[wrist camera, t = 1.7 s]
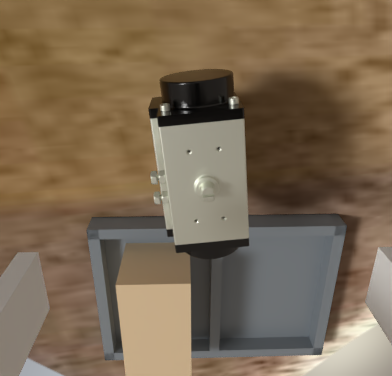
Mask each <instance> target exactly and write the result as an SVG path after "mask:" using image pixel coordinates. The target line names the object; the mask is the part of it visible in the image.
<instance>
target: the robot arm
mask: <svg viewBox="0 0 392 376" xmlns="http://www.w3.org/2000/svg"><path fill="white" fill-rule="evenodd" d="M365 303H366V305H367V306H368V308H369V309H370V311H371V312H372V314H373V316H374V317H375V319H376V320H377V322H378V324H379V325H380V327H381V328H382V330H383V332H384V333H385V335H386V336H387V338H388V340H389V341H390V343H391V344H392V247H378V251H377V256H376V260H375V264H374V268H373V272H372V276H371V280H370V285H369V289H368V293H367V297H366V301H365ZM49 309H50V307H49V302H48V297H47V293H46V288H45V283H44V278H43V273H42V269H41V264H40V259H39V254H38V252H21V253H17V254H16V256H15V257H14V259H13V260H12V261H11V263H10V264H9V266H8V267H7V269H6V270H5V271H4V273H3V274H2V276H1V277H0V376H19V374H20V372H21V370H22V368H23V366H24V363H25V361H26V359H27V357H28V355H29V353H30V350H31V348H32V346H33V344H34V342H35V339H36V337H37V335H38V333H39V331H40V329H41V326H42V324H43V322H44V320H45V318H46V316H47V313H48V311H49Z"/></svg>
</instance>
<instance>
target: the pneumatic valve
mask: <svg viewBox="0 0 392 376" xmlns="http://www.w3.org/2000/svg"><path fill="white" fill-rule="evenodd" d="M160 88H161V95H162V97H155V98H152V100H151V103H150V106H149V108H148V109H149V115H150V122H151V129H152V136H153V142H154V149H155V156H156V163H157V169H158V175H157V172H156V171H152V172H151V183H152V184H158V180H159V183H160V190H161V195H160V192H154V202H155V204H161V200H162V203H163V210H164V217H165V224H166V230H167V237H174V243H175V250H176V253H184V252H186V253H187V254H188V255H190V256H192V257H195V258H199V259H218V258H222V257H225V256H228V255H230V254H232V253H233V252H235V251H236V250H237V249H238V248H239V247H246V246H249V222H248V196H247V171H246V145H245V119H244V106H243V105H242V103H241V102H240V100H239V98H238V97H237V95H236V94H235V92H234V80H233V72H232V71H229V70H223V69H204V70H193V71H185V72H179V73H174V74H170V75H167V76H164V77H162V78H161V79H160Z"/></svg>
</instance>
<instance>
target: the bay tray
mask: <svg viewBox="0 0 392 376" xmlns="http://www.w3.org/2000/svg"><path fill="white" fill-rule="evenodd" d="M248 222H249V246H246V247H239V248H238V249H237V250H236V251H235V252H233V253H232V254H230V255H228V256H225V257H222V258H218V259H199V258H195V257H192V256H190V255H188V254H187V253H186V252H184V253H176V250H175V243H174V237H167V230H166V224H165V217H164V216H155V217H92V219H91V221H90V223H89V226H88V228H87V236H88V243H89V250H90V257H91V264H92V271H93V278H94V285H95V292H96V299H97V306H98V313H99V320H100V327H101V334H102V341H103V348H104V355H105V360H124V364H125V373H126V376H191V358H214V357H253V356H293V355H321V354H322V349H323V344H324V339H325V334H326V329H327V324H328V319H329V314H330V309H331V304H332V299H333V294H334V289H335V284H336V279H337V274H338V269H339V264H340V259H341V253H342V248H343V243H344V238H345V233H346V228H347V225H346V224H345V223H344V221H343V220H342V219H341V217H340V216H339V215H338V214H293V215H248Z"/></svg>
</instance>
